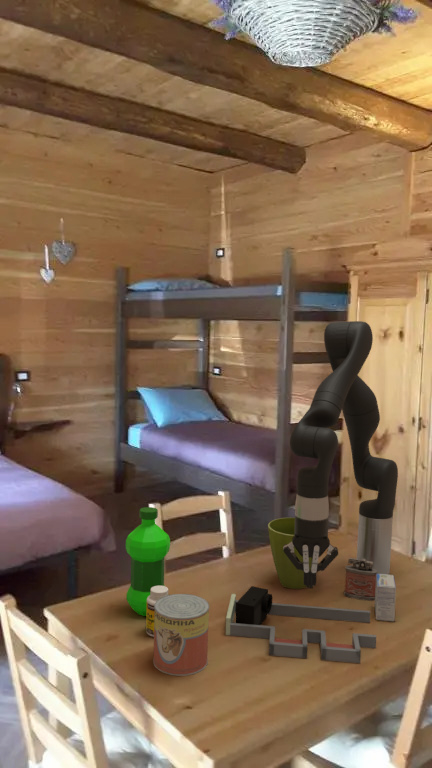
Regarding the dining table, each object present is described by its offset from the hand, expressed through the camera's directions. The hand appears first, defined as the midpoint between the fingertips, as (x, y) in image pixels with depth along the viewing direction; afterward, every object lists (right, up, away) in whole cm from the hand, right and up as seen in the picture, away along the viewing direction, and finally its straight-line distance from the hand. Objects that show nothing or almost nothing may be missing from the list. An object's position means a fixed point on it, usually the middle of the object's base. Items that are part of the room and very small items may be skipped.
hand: (309, 586), depth 150 cm
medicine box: (+20, -10, +10) cm, 24 cm away
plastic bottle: (-38, -8, +7) cm, 40 cm away
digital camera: (-13, -10, +2) cm, 16 cm away
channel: (-3, -10, -2) cm, 11 cm away
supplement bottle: (-34, -10, -3) cm, 36 cm away
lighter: (+16, -9, +19) cm, 26 cm away
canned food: (-29, -11, -15) cm, 34 cm away
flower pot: (-1, -8, +26) cm, 27 cm away
